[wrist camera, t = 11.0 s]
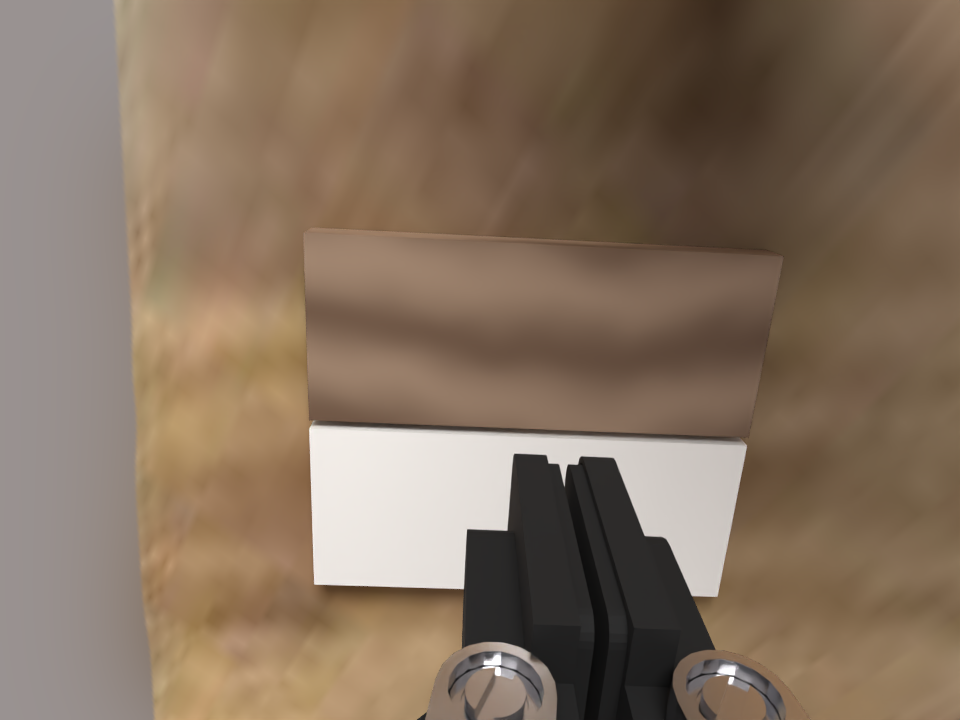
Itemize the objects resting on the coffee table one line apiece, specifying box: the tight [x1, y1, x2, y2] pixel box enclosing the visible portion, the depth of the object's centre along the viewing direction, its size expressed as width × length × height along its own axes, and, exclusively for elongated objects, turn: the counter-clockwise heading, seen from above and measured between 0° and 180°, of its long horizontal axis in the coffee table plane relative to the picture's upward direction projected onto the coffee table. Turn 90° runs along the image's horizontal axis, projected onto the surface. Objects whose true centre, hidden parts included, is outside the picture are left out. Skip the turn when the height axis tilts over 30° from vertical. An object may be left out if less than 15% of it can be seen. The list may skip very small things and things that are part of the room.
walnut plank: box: [303, 228, 784, 438], centre depth 36 cm, size 10×24×2 cm, turn 87°
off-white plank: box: [309, 420, 747, 597], centre depth 39 cm, size 10×24×2 cm, turn 87°
